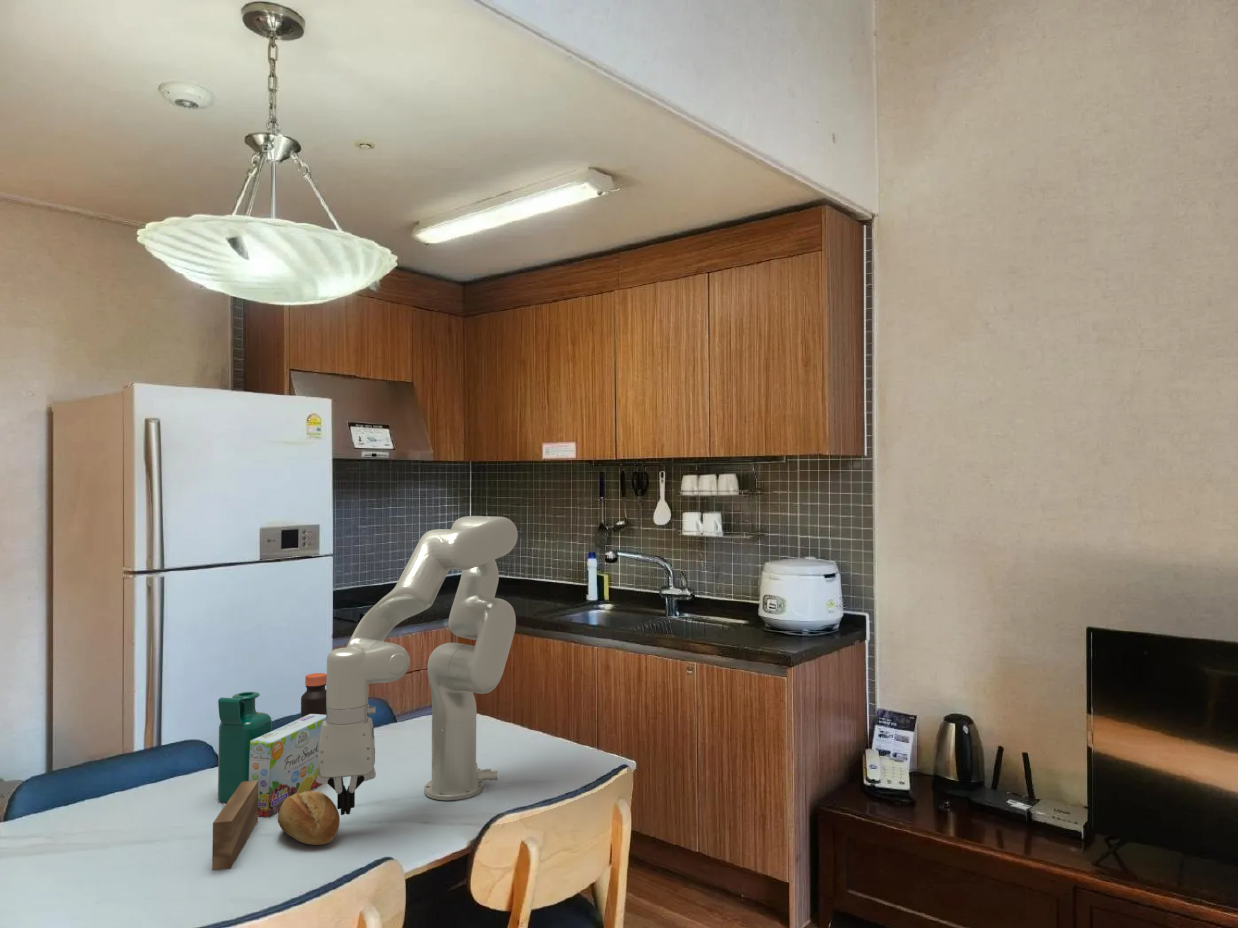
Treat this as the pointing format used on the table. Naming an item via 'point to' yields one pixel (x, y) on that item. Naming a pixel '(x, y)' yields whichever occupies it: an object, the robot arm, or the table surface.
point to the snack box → (285, 762)
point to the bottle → (314, 695)
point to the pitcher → (237, 740)
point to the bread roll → (309, 817)
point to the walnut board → (234, 825)
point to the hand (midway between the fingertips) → (346, 811)
